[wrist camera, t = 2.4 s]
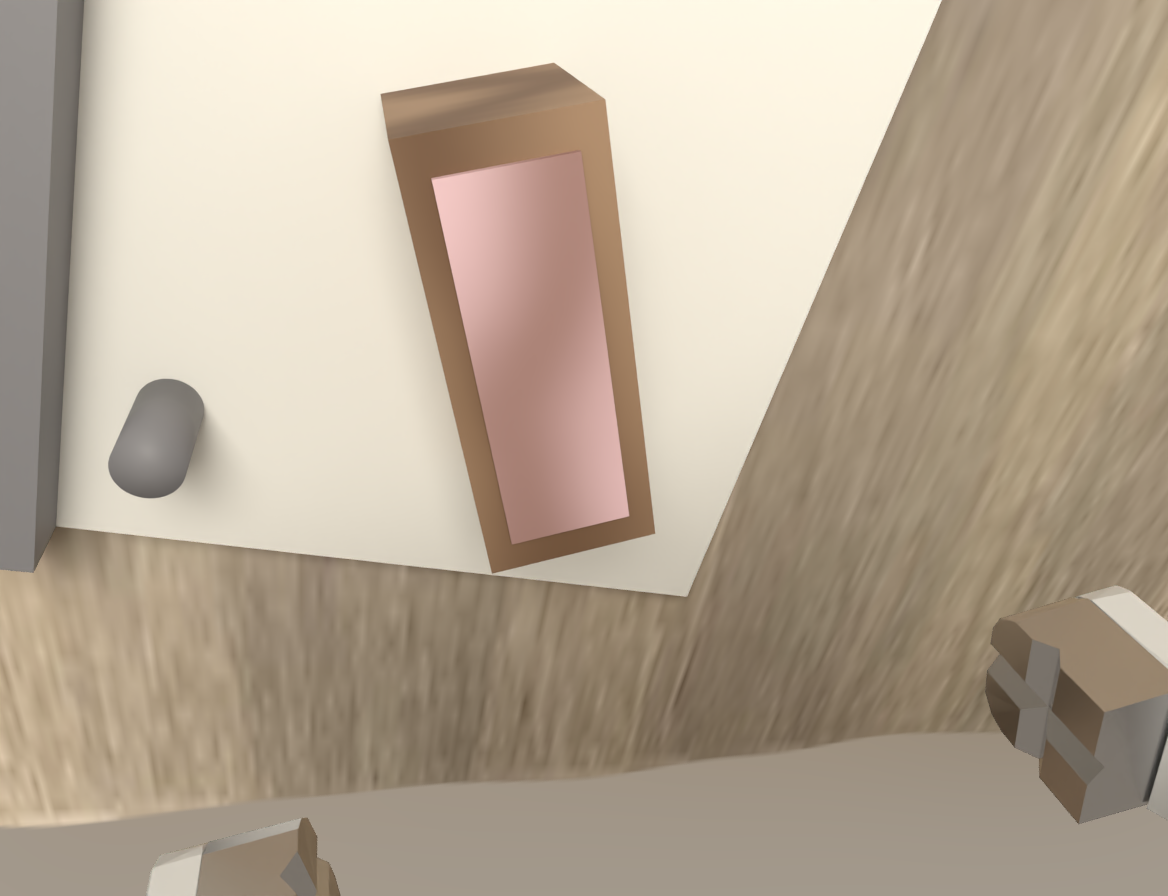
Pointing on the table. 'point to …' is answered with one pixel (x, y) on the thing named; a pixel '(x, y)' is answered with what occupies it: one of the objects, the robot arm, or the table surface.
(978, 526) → the table surface
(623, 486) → the wooden block
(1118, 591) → the robot arm
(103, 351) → the board
